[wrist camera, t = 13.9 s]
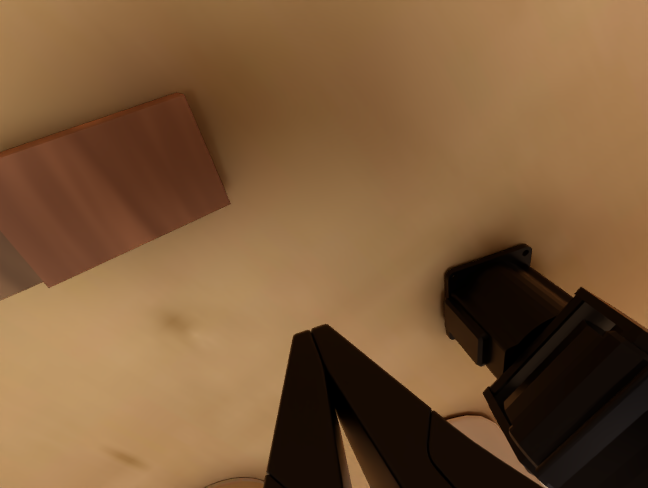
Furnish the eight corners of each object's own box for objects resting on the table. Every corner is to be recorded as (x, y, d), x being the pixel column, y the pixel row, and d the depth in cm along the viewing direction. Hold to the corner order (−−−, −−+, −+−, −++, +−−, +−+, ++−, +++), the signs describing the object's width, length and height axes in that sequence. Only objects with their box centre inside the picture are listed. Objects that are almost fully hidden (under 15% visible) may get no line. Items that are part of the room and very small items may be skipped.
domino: (184, 94, 15) (-48, 174, 12) (230, 203, 18) (48, 287, 15) (176, 92, 16) (-36, 164, 14) (220, 194, 19) (51, 270, 16)
